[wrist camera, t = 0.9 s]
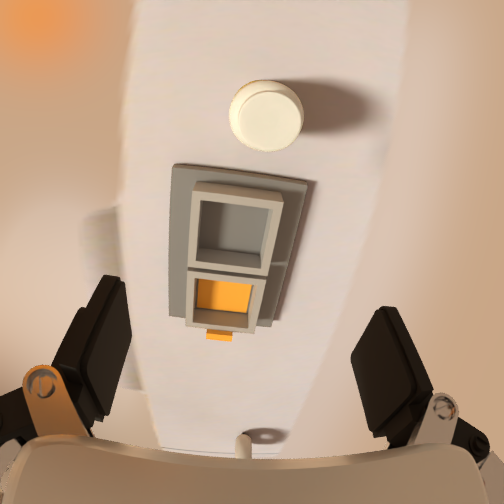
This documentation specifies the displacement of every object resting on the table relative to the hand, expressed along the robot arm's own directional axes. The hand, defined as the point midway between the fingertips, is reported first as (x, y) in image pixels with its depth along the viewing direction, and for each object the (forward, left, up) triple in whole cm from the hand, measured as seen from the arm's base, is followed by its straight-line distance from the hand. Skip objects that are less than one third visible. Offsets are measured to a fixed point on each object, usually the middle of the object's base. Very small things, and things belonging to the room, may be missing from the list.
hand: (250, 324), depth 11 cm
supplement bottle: (-5, +1, -21) cm, 22 cm away
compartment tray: (+11, 0, -21) cm, 24 cm away
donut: (+58, +8, -21) cm, 62 cm away
